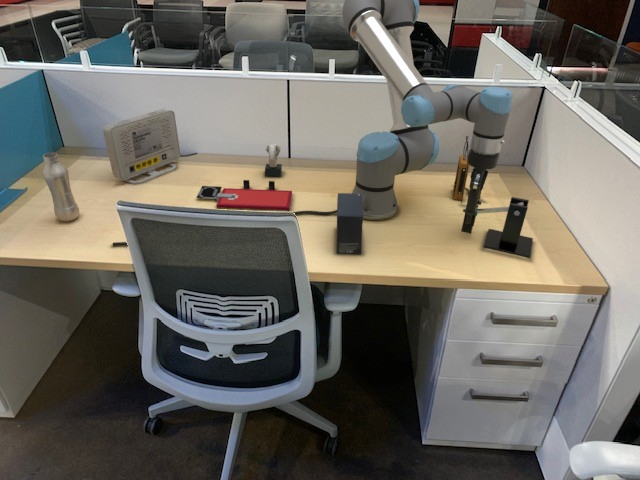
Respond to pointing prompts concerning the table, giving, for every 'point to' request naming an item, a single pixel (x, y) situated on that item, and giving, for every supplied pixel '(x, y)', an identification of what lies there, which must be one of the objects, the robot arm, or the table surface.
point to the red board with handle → (248, 197)
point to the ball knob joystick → (495, 209)
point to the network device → (142, 145)
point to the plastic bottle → (59, 188)
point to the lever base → (511, 232)
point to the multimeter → (461, 175)
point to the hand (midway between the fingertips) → (467, 228)
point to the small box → (349, 223)
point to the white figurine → (273, 161)
